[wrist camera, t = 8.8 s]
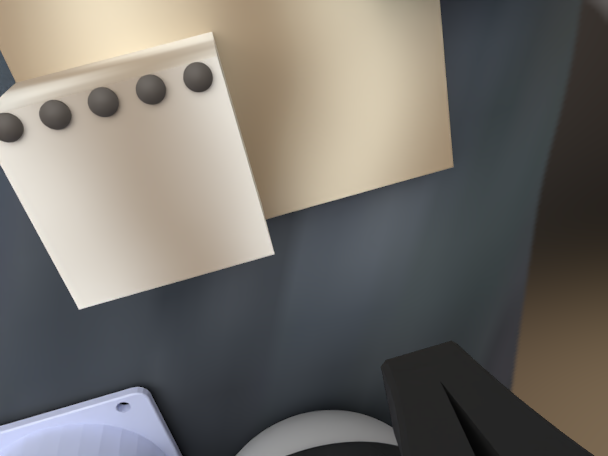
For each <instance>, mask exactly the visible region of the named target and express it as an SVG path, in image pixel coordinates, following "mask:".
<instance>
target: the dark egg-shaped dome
mask: <svg viewBox="0 0 608 456" xmlns="http://www.w3.org/2000/svg"><path fill="white" fill-rule="evenodd" d="M236 456H401V453H400V450H399V447H398V444H397V441H396V438H395V435H394V431H393V428H392V427H391V426H389V425H387V424H385V423H384V422H382V421H379V420H377V419H375V418H372V417H370V416H367V415H364V414H360V413H356V412H350V411H343V410H321V411H313V412H307V413H303V414H299V415H296V416H292V417H290V418H287V419H285V420H282V421H280V422H278V423H276V424H274V425H272V426H270V427H269V428H267V429H265V430H264V431H262V432H261V433H259V434H258V435H257V436H256V437H254V438H253V439H252V440H251V441H250V442H248V443H247V444H246V445H245V446H244V447H243V448H242V449H241V450H240V452H239V453H238V454H237V455H236Z"/></svg>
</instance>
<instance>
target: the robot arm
mask: <svg viewBox="0 0 608 456" xmlns="http://www.w3.org/2000/svg"><path fill="white" fill-rule="evenodd" d="M381 370H382V375H383V380H384V385H385V390H386V395H387V400H388V405H389V411H390V416H391V421H392V426H393V431H394V435H395V438H396V441H397V444H398V447H399V450H400V453H401V456H594V455H593V454H591V453H590V452H588V451H587V450H586V449H584V448H583V447H581V446H580V445H579V444H577V443H576V442H575V441H573V440H572V439H570V438H569V437H568V436H566V435H565V434H564V433H562V432H561V431H560V430H559V429H557V428H556V427H555V426H553V425H552V424H551V423H550V422H548V421H547V420H546V419H544V418H543V417H542V416H541V415H539V414H538V413H537V412H535V411H534V410H533V409H532V408H530V407H529V406H528V405H526V404H525V403H524V402H523V401H522V400H520V399H519V398H518V397H517V396H516V395H514V394H513V393H512V392H511V391H510V390H508V389H507V388H506V387H505V386H504V385H503V384H501V383H500V382H499V381H498V380H497V379H496V378H494V377H493V376H492V375H491V374H490V373H489V372H487V371H486V370H485V369H484V368H483V367H482V366H481V365H480V364H478V363H477V362H476V361H475V360H474V359H473V358H472V357H471V356H470V355H469V354H468V353H466V352H465V351H464V350H463V349H462V348H461V347H460V346H459V345H458V344H456V343H455V342H453V341H449V342H445V343H442V344H439V345H435V346H432V347H429V348H425V349H422V350H418V351H415V352H412V353H408V354H405V355H402V356H398V357H395V358H391V359H388V360H386V361H385V362H384V363H383V365H382V366H381ZM121 402H126V403H129V404H126V405H123V404H120V403H121ZM0 456H182V454H181V452H180V450H179V448H178V446H177V444H176V442H175V440H174V438H173V436H172V434H171V432H170V431H169V429H168V427H167V425H166V423H165V421H164V419H163V417H162V415H161V413H160V411H159V409H158V407H157V405H156V403H155V401H154V399H153V397H152V395H151V393H150V392H149V391H148V390H147V389H145V388H143V387H133V388H129V389H126V390H122V391H119V392H115V393H112V394H109V395H105V396H102V397H98V398H95V399H91V400H88V401H85V402H81V403H78V404H74V405H71V406H67V407H64V408H61V409H57V410H54V411H50V412H47V413H43V414H40V415H37V416H33V417H30V418H26V419H23V420H19V421H16V422H13V423H9V424H6V425H2V426H0Z"/></svg>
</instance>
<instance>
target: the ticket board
mask: <svg viewBox="0 0 608 456" xmlns="http://www.w3.org/2000/svg"><path fill="white" fill-rule="evenodd" d="M0 50H1V52H2V54H3V56H4V58H5V60H6V63H7V65H8V67H9V69H10V71H11V73H12V75H13V77H14V79H15V81H16V83H15V84H14V85H13V86H12V87H11V88H10V89H9V90H8V91H7V92H5V93H4V94H3V95H2V96H1V97H0V165H1V167H2V168H3V170H4V172H5V174H6V176H7V178H8V179H9V181H10V183H11V185H12V187H13V189H14V190H15V192H16V194H17V196H18V198H19V200H20V202H21V203H22V205H23V207H24V209H25V211H26V213H27V214H28V216H29V218H30V220H31V222H32V224H33V225H34V227H35V229H36V231H37V233H38V235H39V237H40V238H41V240H42V242H43V244H44V246H45V248H46V249H47V251H48V253H49V255H50V257H51V259H52V261H53V262H54V264H55V266H56V268H57V270H58V272H59V273H60V275H61V277H62V279H63V281H64V283H65V284H66V286H67V288H68V290H69V292H70V294H71V296H72V297H73V299H74V301H75V303H76V305H77V307H78V308H79V309H82V308H86V307H90V306H93V305H97V304H100V303H104V302H107V301H111V300H114V299H118V298H121V297H125V296H128V295H132V294H135V293H139V292H143V291H146V290H150V289H153V288H157V287H160V286H164V285H167V284H171V283H174V282H178V281H181V280H185V279H188V278H192V277H196V276H199V275H203V274H206V273H210V272H213V271H217V270H220V269H224V268H227V267H231V266H234V265H238V264H241V263H245V262H249V261H252V260H256V259H259V258H263V257H266V256H270V255H273V254H274V250H273V246H272V242H271V239H270V235H269V231H268V227H267V223H266V219H269V218H273V217H276V216H280V215H283V214H287V213H290V212H294V211H298V210H301V209H305V208H308V207H312V206H315V205H319V204H323V203H326V202H330V201H333V200H337V199H341V198H344V197H348V196H351V195H355V194H358V193H362V192H366V191H369V190H373V189H376V188H380V187H383V186H387V185H391V184H394V183H398V182H401V181H405V180H409V179H412V178H416V177H419V176H423V175H426V174H430V173H434V172H437V171H441V170H444V169H448V168H451V167H453V156H452V144H451V132H450V119H449V107H448V95H447V82H446V70H445V58H444V45H443V33H442V21H441V9H440V0H0Z"/></svg>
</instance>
